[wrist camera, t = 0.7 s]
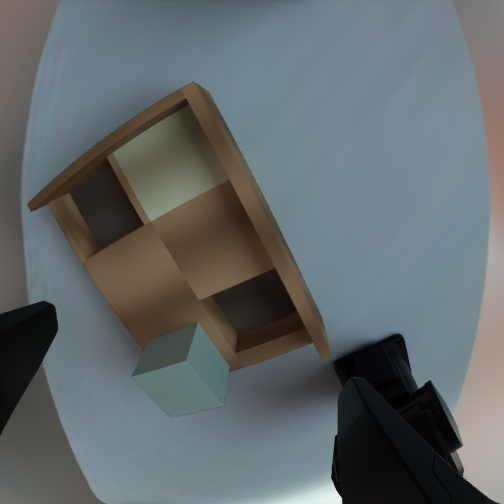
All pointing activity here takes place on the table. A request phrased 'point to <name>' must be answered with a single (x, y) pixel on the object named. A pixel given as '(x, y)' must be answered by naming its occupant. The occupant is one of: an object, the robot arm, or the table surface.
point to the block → (183, 372)
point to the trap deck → (185, 234)
